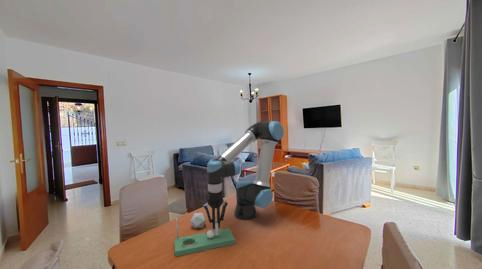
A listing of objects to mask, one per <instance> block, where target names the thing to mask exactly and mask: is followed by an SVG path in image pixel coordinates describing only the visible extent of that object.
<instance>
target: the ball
mask: <svg viewBox="0 0 482 269" xmlns="http://www.w3.org/2000/svg"><path fill="white" fill-rule="evenodd" d="M214 231H215V230H214V229H210V230H207V237H208V238H213V237H214Z"/></svg>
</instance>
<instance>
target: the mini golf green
mask: <svg viewBox="0 0 482 269" xmlns="http://www.w3.org/2000/svg"><path fill="white" fill-rule="evenodd" d="M175 230H176V231H175V232H176V238H174V257H175V258H176V257H180V256H186V255H191V254H193V253H195V254H196V253H199V252H204V251H208V250H213V249H217V248H223V247H227V246H231V245H235V244H236V238H235V237H234V236H235V235H233V232H232V230H231V228H230V227H227V228H224V229H218V235H215V230H213V231H214V237H213V238H208V237H207V232H208V231H207V232H201V233H196V234H191V235H188V236H187V235H186V236H181V237H179V225H178V217H175Z"/></svg>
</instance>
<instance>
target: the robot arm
mask: <svg viewBox="0 0 482 269" xmlns="http://www.w3.org/2000/svg"><path fill="white" fill-rule="evenodd" d="M284 131H285V130H284V126H283V125H282V123H281V122H280V121H278V120H277V121H274V120H270V121H269V120H268V121H264V120H263V121H257V122H255V123H254V124H252V125H250V126H249V127H248V128H247V129H246V130H245V131H244V134H242V135H241V136H240V137H239V138H238V139H237V140H236V141H235V142H233V143H232V144H231V145H230V146H229V147H228V148H227V149H225V150H224V151H223V152H222V153H221V154H220V155H219V156H217V157H216V158H211V159H210V160H209V161H208V163H207V166H206V168H207V169H206V172H207V176H206V177H207V191H208V192H207V202H206V203H205V204H203V208H204V209H205V212H206V216H207V220H208V222H209V223H210V224H212V230H214V231H215V235H218V230H219V229H220V228H221V222H222V221H224V218H225V213H226V210H227V209H226V208H227V206H228V204H229V203H228V202H227V201H225V200H224V198H223V179H224V178H229V177H235V176H237V175H240V173H241V164H240V163H239V162H238V161H234V160H235V159H236V158H237V157H238V156H240V154H241V153H242V152H243V151H245V149H246V148H248V147H249V146H250V144H252V143H254V142H257V140H260V142H261V147H260V151H259V152H260V153H259V156H258V162H257V168H256V173H255V174H256V175H255V180H252V179H249V180H248V179H246V180H245V179H244V180H241V181H237V183H236V184H235V195H236V197H235V198H236V205H235V208H234V210H233V211H234V212H233V214H234V218H236V219H238V220H252V219H254V218H256V217H257V215H258V214H257V209H256V207H259V208H263V209H264V208H267V207H268V206H269V205H270V204H271V203H272V200H273V198H274V193H273V192H272V190H271V185H270V178H271V170H272V167H273V166H272V164H273V159H274V156H275V148H276V146H277V145H278V144H279V141H280V140H282V139H283V137H284V133H285V132H284ZM221 206H222V207H221ZM209 207H210V209H211V214H210V211H209Z"/></svg>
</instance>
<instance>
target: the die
mask: <svg viewBox="0 0 482 269" xmlns="http://www.w3.org/2000/svg"><path fill="white" fill-rule="evenodd" d="M206 221H207V219H206V217H205V214H204V212H194V213H193V215H192V217H191V219H190V223H191V225H192V227H193V229H203V228H204V225H205V223H206Z"/></svg>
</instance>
